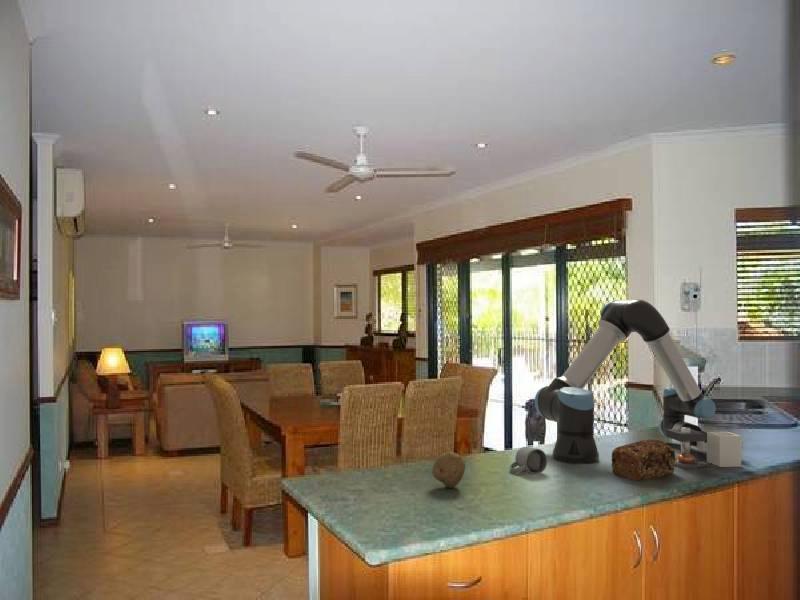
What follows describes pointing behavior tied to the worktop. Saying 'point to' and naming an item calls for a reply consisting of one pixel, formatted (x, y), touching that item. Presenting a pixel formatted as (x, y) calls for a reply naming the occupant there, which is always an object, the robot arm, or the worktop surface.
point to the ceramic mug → (529, 461)
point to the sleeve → (724, 449)
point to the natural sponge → (449, 469)
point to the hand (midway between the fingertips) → (722, 445)
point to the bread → (643, 460)
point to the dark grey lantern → (687, 455)
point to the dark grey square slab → (685, 435)
